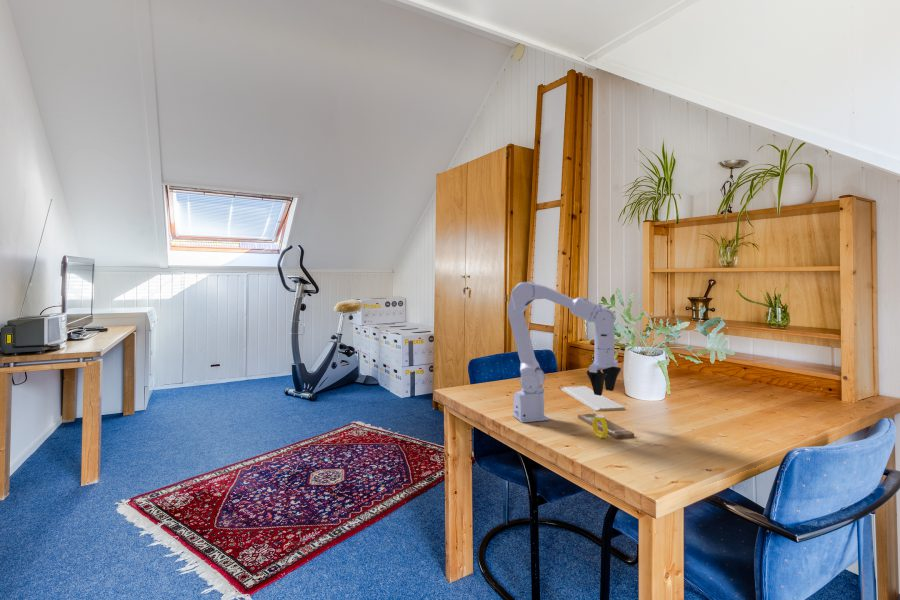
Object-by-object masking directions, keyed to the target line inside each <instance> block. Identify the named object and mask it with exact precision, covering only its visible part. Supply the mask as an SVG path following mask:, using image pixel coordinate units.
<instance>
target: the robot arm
mask: <svg viewBox="0 0 900 600" xmlns="http://www.w3.org/2000/svg"><path fill="white" fill-rule="evenodd" d="M544 299H545V300H548V301H551V302H553V303H555V304H558V305H560V306H562V307H565V308H568V309H569V311H570V313H571V314H572V315H573V316H576V317H577V318H580V319H582V320H585V321H586V322H589V323H594V325H595V330H594V331H595V332H594V349H593V350H594V355H593V356H594V357H593V358H594V359H593V360H594V361H593V362H592V364H591V365H590V364H589V368H588V369H589V370H587V371H586V374H587V377H588V378H589V380H590V383H591V386H592V390H593V391H594V395H599V396H601V395H603V390H604V387H605V390H606V391H609V392H610V391H611V392H614V390H615V386H616V382H617V379H618V376H619V374H620V372H621V370H622V368H621V367H619V360H618V359H615V335H616V333H614V331H615V325H614V324H615V320H616V315H615V313H614V311H612V310H611V309H609V308H608V307H603V305H602V304H596V303H595V302H591V301H589V300H588V299H589V298H587V297H585V296H583V297H580V296H579V297H576V298H572V297H570V296H568V295H566V294H563V293H561V292H559V291H557V290H555V289H553V288H551V287H548V286H546V285H542V284H539V283H535V282H533V281H521V282H518V283H517V284H516V285H515V286H514V287H513V288H512V290H511V291H510V298H509V302H508V304H507V308H506V311H507V317H508V320H509V324H510V327H511V328H510V329H511V331H512V335H513V340H514V343H515V346H516V350H517V355H518V358H519V361H520V366H519V373H520V379H519V383H520V384H519V385H520V387H521V389H520V391H516V392H514V394H513V398H512V399H513V410H512V411H513V413H512V417H514V418H515V419H517V420H518V421H519V422H521V423H531V422H541V421H542V422H543V421H550V418H549V417H547V416H546V415H545V388H544V387H543V384H544V383H545V381H546V375H545V372H544V371H543V369H541V367H540V363H539V361H538V360H537V358H536V355H535V351H534V347H533V343H532V340H531V336H530V332H529V328H528V324H527V321H526V316H525V311H526V309H527V308H528V306H529V305H530V304H531V303H532V302H533V301H534V300H544Z"/></svg>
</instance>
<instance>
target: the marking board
mask: <svg viewBox="0 0 900 600" xmlns="http://www.w3.org/2000/svg"><path fill="white" fill-rule="evenodd" d="M596 415H598V414H596V413H584V414H583V413H582V414H578V415H577V418H578V419H579V420H581V421H583V422H584V423H586V424H588V425H590V427H591V426H592V427H593V420H594V418H595V416H596ZM605 421H606V423H607V427H608V433H607V436H609V437H611V438H613V439H614V440H619V439H628V438H635V433H634V432H632V431H629V430H628V429H626V428H624V427H622V426H620V425H619V424H617V423H614V422H612V421H610V420H608V419H606V418H605ZM597 427H598V431H599V432H602V433H603V427H602V423H601V421H600V420H598V422H597Z"/></svg>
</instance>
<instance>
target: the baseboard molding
mask: <svg viewBox="0 0 900 600" xmlns="http://www.w3.org/2000/svg"><path fill="white" fill-rule="evenodd" d="M572 385H576V383H575V382H574V383H573V382H572ZM579 385H580V386H579ZM582 385H583V386H582ZM561 386H563V385H562V384H560V386H558V387H557V389H558V390H561V391H562V392H564V393H565V394H568V395H569V396H570V397H572V398H573V399H576V400H577V401H578V402H581V403H582V404H584V405H585V406H587V407H588V408H590V409H592V410H593V411H595V412H605V411H607V412H608V411H609V412H610V411H625V410H626V407H625V406H623V405H622V404H620V403H618V402H616V401H613V400H612V399H610V398H608V397H606V396H604V395H603V394H602V395H601V396H599V395H594V391H593V388H592V389H591V388H589V387H588V386H586V385H584V384H583V383H582V384H578V385H577V386H563V388H562V387H561Z"/></svg>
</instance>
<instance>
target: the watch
mask: <svg viewBox="0 0 900 600" xmlns="http://www.w3.org/2000/svg"><path fill="white" fill-rule="evenodd" d="M605 419H606V416H605V415H602V414H597V415H596V416H595V418H594V420H593V426H592V431H593V433H594V436H596V437H598V438H599V439H606V438H607V436H608V434H607V433H608V427H607V423H606V421H605ZM598 420H600V421H601V423H602V427H603V432H602V434H601V433H600V430H599V429H598V427H597V422H598Z"/></svg>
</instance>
